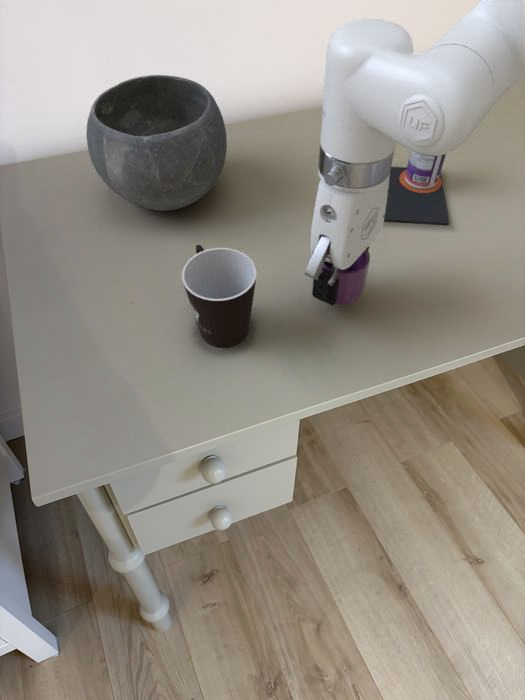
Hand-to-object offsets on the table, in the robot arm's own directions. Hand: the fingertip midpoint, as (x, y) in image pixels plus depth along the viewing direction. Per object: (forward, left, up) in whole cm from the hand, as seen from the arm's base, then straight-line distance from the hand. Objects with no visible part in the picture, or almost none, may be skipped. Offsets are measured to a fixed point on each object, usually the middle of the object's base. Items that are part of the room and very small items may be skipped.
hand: (339, 281), depth 69 cm
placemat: (-8, -24, -4) cm, 26 cm away
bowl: (+28, -21, -4) cm, 35 cm away
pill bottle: (-13, -28, -3) cm, 31 cm away
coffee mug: (+15, +5, -4) cm, 16 cm away
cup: (0, 0, -1) cm, 1 cm away
